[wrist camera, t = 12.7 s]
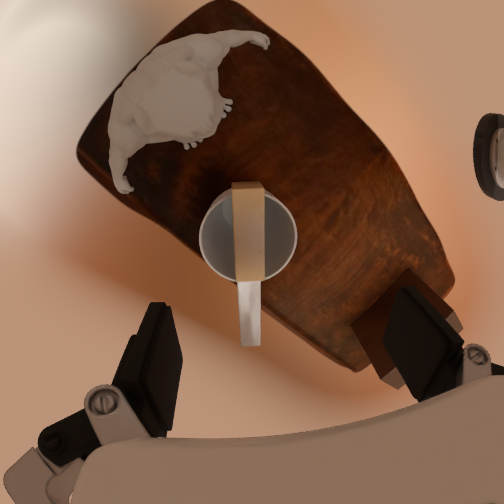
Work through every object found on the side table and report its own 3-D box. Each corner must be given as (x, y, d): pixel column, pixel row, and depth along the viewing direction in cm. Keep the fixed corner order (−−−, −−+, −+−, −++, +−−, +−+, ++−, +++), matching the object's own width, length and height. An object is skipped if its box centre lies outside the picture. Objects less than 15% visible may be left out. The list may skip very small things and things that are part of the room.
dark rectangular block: (408, 267, 37) (454, 310, 26) (422, 286, 39) (463, 328, 28) (350, 325, 40) (380, 380, 29) (368, 339, 42) (397, 390, 31)
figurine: (171, 195, 30) (108, 264, 14) (129, 160, 28) (31, 192, 11) (279, 83, 26) (339, 24, 9) (236, 47, 24) (244, -45, 7)
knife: (231, 182, 20) (231, 189, 18) (260, 181, 20) (264, 187, 18) (239, 343, 27) (241, 364, 24) (261, 341, 27) (264, 362, 24)
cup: (263, 249, 34) (276, 292, 25) (199, 230, 32) (188, 268, 23) (287, 188, 31) (311, 210, 22) (220, 165, 29) (215, 177, 20)
